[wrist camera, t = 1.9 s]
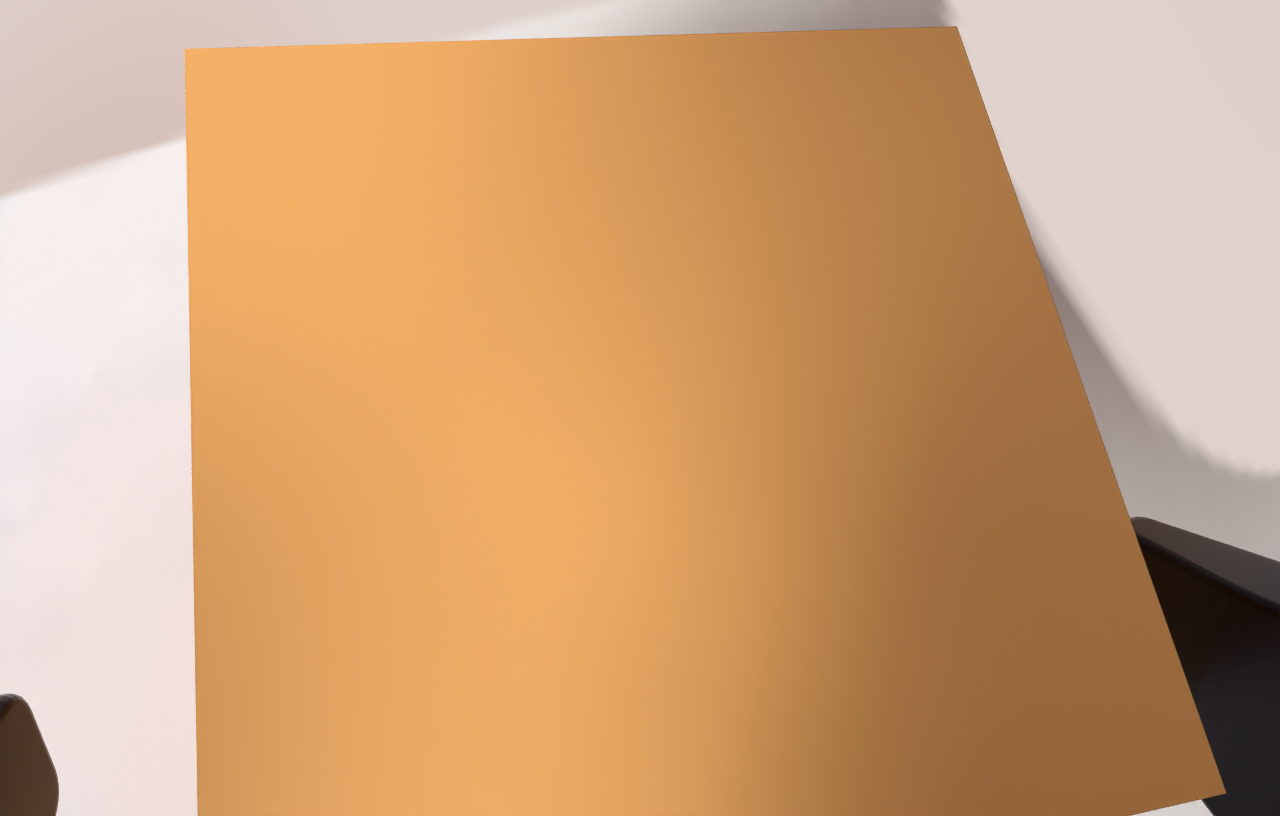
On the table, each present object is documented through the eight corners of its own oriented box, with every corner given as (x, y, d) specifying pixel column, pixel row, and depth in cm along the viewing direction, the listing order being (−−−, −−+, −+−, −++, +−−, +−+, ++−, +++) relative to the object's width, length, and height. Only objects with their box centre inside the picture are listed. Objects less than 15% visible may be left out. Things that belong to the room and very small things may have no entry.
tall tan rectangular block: (710, 759, 16) (1225, 792, 5) (415, 818, 15) (200, 1029, 4) (659, 484, 17) (956, 26, 6) (390, 519, 16) (185, 48, 5)
